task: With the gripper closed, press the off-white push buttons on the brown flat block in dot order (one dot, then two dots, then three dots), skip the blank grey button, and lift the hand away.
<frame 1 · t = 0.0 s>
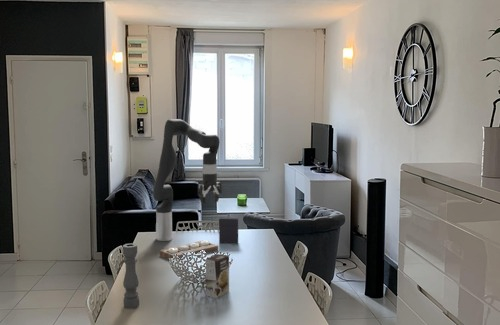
hand: (209, 202, 260), 29 cm above the table, tool pointing down, fingers open, 8 cm apart
button one dot: (204, 244, 275), point 3 cm above the table, slide at 0.0 cm
coffee box: (217, 293, 211), on the table
dark brown box: (228, 243, 289), on the table
button two dots: (173, 251, 261), point 3 cm above the table, slide at 0.0 cm
brown flat block: (189, 253, 269), on the table
candle holder: (131, 306, 197), on the table
button blank: (184, 248, 266), point 3 cm above the table, slide at 0.0 cm
button three dots: (194, 246, 271), point 3 cm above the table, slide at 0.0 cm
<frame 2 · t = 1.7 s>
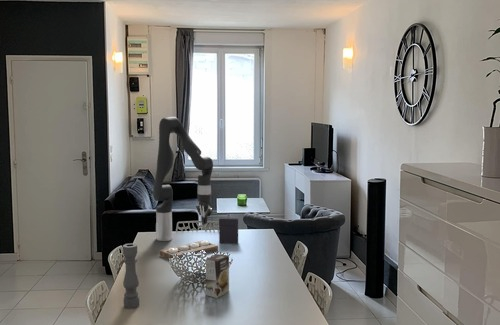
hand: (204, 223, 274), 15 cm above the table, tool pointing down, fingers closed
nothing on the table moved.
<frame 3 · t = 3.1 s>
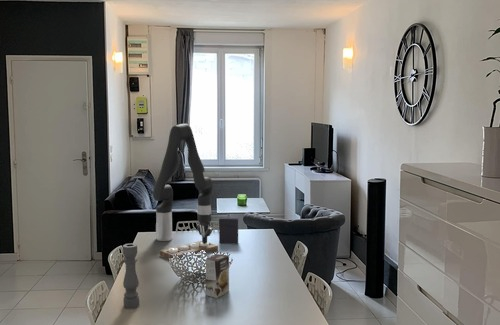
hand: (204, 243, 275), 4 cm above the table, tool pointing down, fingers closed
button one dot: (204, 245, 275), point 2 cm above the table, slide at 0.7 cm, touching gripper
everything else where it was.
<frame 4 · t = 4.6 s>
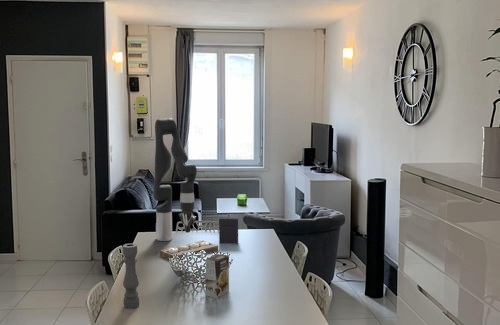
hand: (187, 232, 266), 12 cm above the table, tool pointing down, fingers closed
button one dot: (204, 245, 275), point 2 cm above the table, slide at 0.8 cm, touching brown flat block
everything else where it was.
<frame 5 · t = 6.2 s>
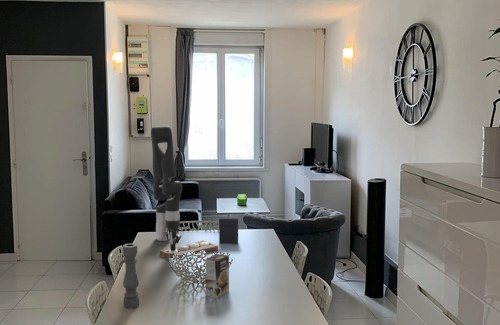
hand: (173, 250, 261), 4 cm above the table, tool pointing down, fingers closed
button two dots: (173, 252, 261), point 2 cm above the table, slide at 0.8 cm, touching gripper
everything else where it was.
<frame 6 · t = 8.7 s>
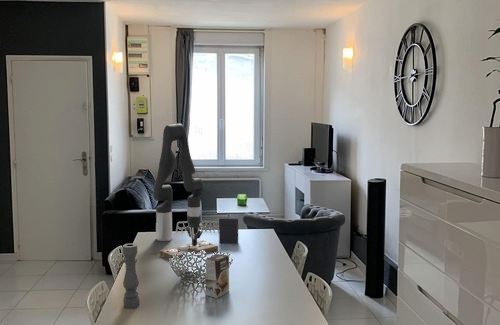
hand: (194, 245, 270), 4 cm above the table, tool pointing down, fingers closed
button two dots: (173, 252, 261), point 2 cm above the table, slide at 0.8 cm, touching brown flat block
button three dots: (194, 247, 271), point 2 cm above the table, slide at 0.7 cm, touching gripper
everything else where it was.
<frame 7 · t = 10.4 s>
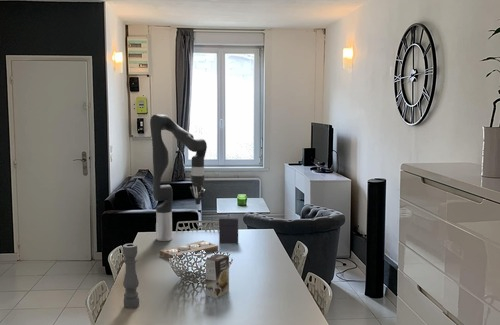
hand: (197, 204, 279), 25 cm above the table, tool pointing down, fingers closed
button three dots: (194, 247, 271), point 2 cm above the table, slide at 0.8 cm, touching brown flat block
everything else where it was.
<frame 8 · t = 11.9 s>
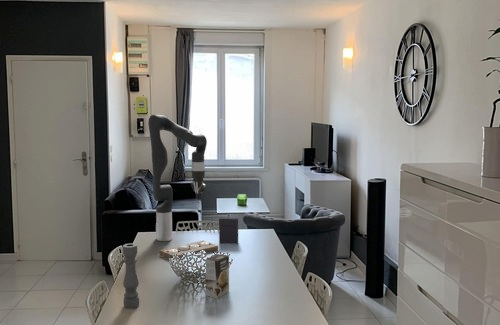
hand: (198, 199, 281), 27 cm above the table, tool pointing down, fingers closed
nothing on the table moved.
at the end: button one dot slide at 0.8 cm; button two dots slide at 0.8 cm; button three dots slide at 0.8 cm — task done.
